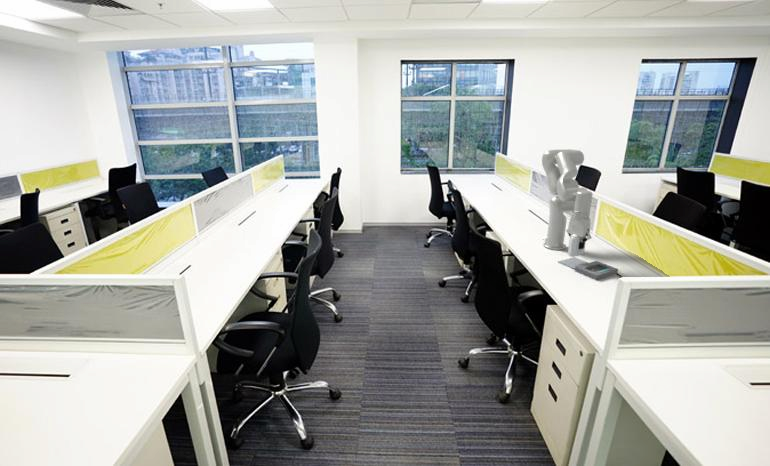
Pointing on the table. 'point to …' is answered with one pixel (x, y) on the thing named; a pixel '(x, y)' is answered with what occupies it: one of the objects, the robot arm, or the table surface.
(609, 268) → the charging dock
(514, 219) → the table surface
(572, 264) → the rubber mat
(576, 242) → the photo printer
